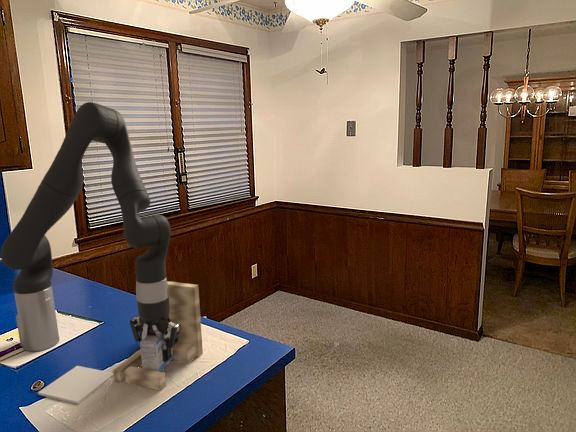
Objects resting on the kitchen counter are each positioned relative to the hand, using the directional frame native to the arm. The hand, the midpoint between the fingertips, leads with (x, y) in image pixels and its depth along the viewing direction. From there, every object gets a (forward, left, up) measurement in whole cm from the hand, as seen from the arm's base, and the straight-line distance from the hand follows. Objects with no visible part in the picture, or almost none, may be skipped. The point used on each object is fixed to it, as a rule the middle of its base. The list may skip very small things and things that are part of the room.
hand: (157, 358), depth 110 cm
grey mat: (-16, -11, -4) cm, 19 cm away
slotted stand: (-1, +2, -4) cm, 4 cm away
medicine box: (0, 0, -2) cm, 2 cm away
